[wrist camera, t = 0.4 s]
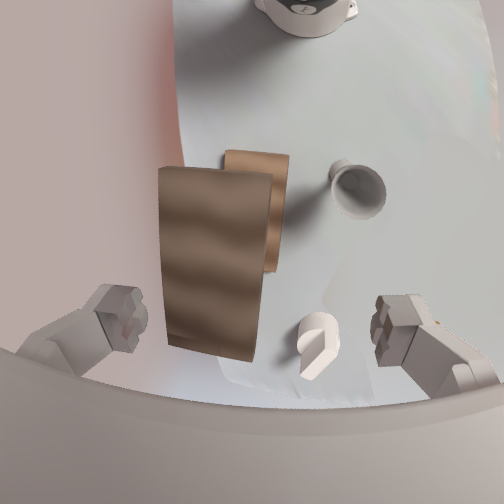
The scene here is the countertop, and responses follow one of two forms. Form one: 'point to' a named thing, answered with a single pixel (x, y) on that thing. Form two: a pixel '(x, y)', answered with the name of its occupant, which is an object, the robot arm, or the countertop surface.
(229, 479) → the robot arm
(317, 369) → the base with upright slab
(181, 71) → the countertop surface
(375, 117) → the countertop surface
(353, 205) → the chalice
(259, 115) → the countertop surface
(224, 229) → the wooden c-shaped stand
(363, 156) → the countertop surface
